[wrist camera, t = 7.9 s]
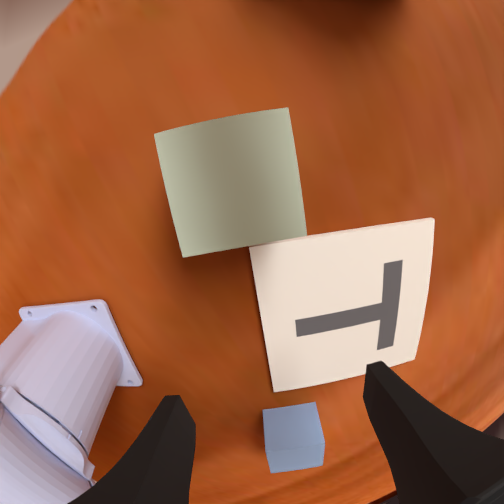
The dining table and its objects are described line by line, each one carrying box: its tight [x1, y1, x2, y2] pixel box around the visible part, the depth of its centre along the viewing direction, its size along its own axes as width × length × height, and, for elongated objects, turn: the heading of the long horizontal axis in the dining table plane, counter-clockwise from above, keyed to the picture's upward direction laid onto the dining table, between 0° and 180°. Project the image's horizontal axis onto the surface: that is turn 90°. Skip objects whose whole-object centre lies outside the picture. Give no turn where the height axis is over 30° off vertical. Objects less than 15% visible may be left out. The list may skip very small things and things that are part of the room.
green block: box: [154, 108, 307, 257], centre depth 12 cm, size 4×4×6 cm
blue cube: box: [263, 402, 325, 473], centre depth 21 cm, size 4×4×4 cm
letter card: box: [249, 218, 435, 392], centre depth 18 cm, size 12×12×1 cm
